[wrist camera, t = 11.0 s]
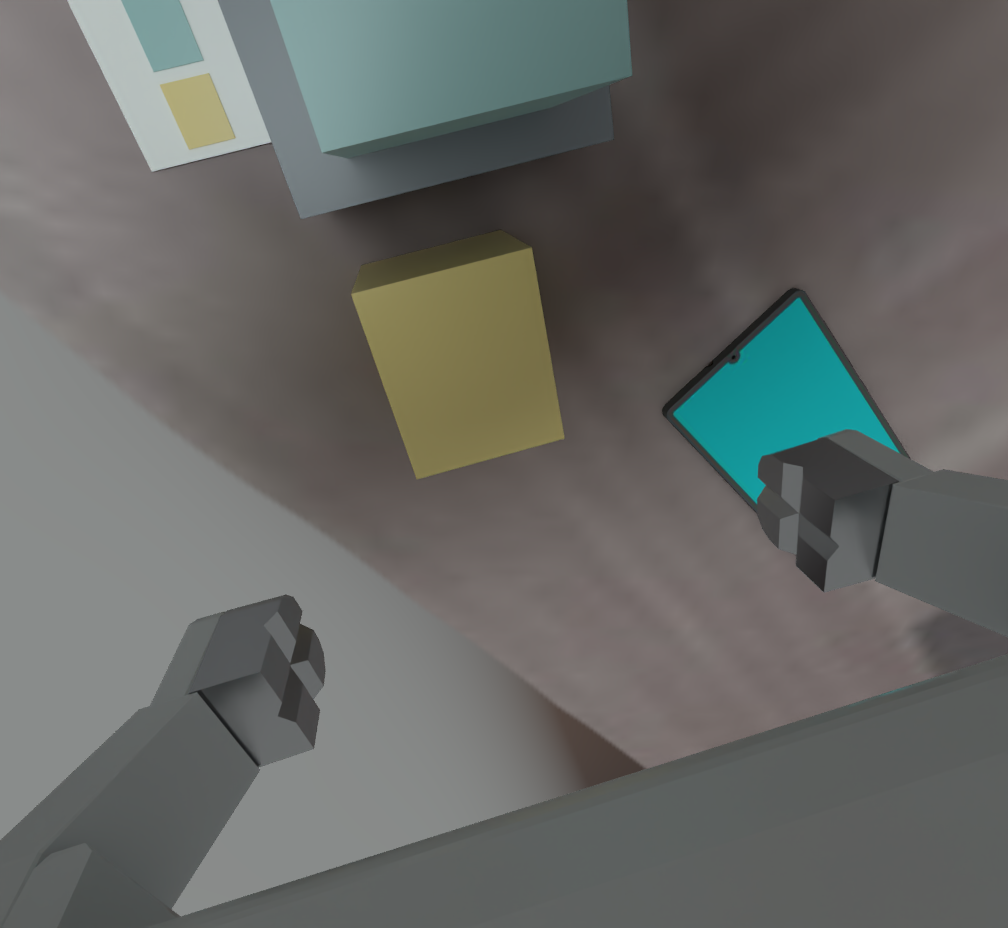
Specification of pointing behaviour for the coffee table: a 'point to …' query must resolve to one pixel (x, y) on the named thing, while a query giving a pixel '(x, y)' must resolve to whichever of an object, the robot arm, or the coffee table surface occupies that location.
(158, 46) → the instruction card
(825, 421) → the smartphone
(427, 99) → the brick teal
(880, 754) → the robot arm
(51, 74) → the coffee table surface
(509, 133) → the tower base
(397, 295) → the brick mustard
